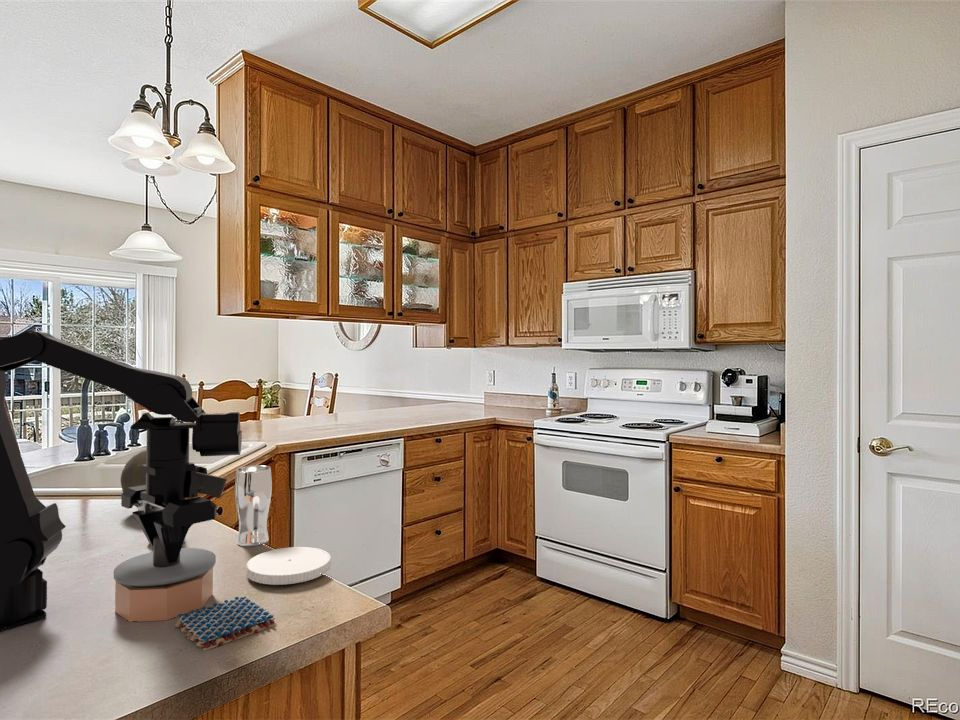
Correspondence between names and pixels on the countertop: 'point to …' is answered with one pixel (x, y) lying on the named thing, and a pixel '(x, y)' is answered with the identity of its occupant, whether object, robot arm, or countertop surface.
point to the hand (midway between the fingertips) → (166, 559)
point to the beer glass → (253, 504)
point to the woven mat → (225, 622)
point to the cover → (163, 566)
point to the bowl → (163, 598)
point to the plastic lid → (288, 565)
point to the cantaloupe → (134, 472)
